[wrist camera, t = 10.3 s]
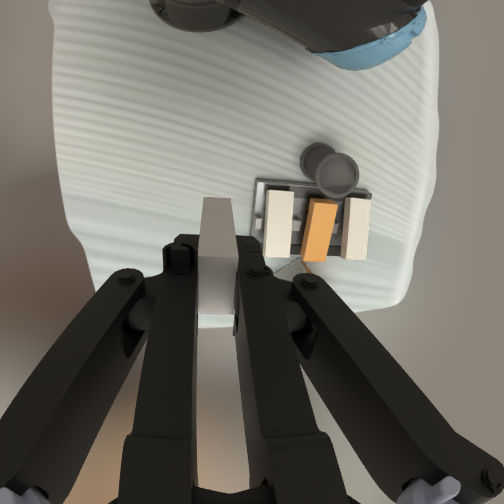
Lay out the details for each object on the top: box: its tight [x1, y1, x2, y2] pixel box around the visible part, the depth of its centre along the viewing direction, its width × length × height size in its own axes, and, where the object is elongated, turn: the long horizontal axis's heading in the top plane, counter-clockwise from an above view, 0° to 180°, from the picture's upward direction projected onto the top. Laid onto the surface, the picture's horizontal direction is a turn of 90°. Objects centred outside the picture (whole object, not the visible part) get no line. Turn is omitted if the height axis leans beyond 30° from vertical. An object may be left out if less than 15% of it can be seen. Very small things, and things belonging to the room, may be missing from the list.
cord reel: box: [300, 143, 359, 198], centre depth 39 cm, size 6×6×8 cm
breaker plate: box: [250, 178, 372, 256], centre depth 45 cm, size 11×18×4 cm, turn 84°
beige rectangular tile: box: [340, 198, 371, 260], centre depth 43 cm, size 9×3×2 cm, turn 174°
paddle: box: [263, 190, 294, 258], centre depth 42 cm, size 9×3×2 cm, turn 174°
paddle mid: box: [300, 198, 338, 262], centre depth 43 cm, size 9×3×2 cm, turn 174°
